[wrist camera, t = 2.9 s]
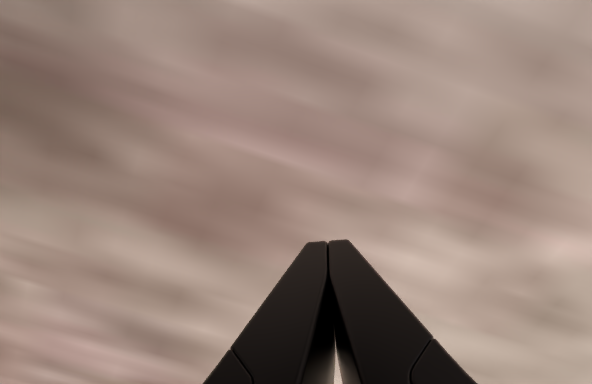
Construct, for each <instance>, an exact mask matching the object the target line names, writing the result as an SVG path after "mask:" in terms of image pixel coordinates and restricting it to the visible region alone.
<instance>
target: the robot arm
mask: <svg viewBox="0 0 592 384" xmlns="http://www.w3.org/2000/svg"><path fill="white" fill-rule="evenodd" d="M335 340H336V350H337V356H338V362H339V367H340V372H341V377H342V382H343V384H477V383H476V382H475V381H474V380H473V379H472V378H471V377H470V376H469V375H468V374H467V373H466V372H465V371H464V370H463V369H462V368H461V367H460V366H459V365H458V363H457V362H456V361H455V360H454V359H453V358H452V357H451V356H450V355H449V354H448V353H447V352H446V350H445V349H444V348H443V347H442V346H441V345H440V343H439V342H438V341H437V340H436V339H433V336H432V335H431V333H430V332H429V331H428V330H427V329H426V328H425V327H424V325H423V324H422V323H421V322H420V321H419V320H418V319H417V317H416V316H415V315H414V314H413V313H412V312H411V311H410V309H409V308H408V307H407V306H406V305H405V304H404V303H403V301H402V300H401V299H400V298H399V297H398V296H397V295H396V294H395V292H394V291H393V290H392V289H391V288H390V287H389V286H388V284H387V283H386V282H385V281H384V280H383V279H382V278H381V276H380V275H379V274H378V273H377V272H376V271H375V270H374V268H373V267H372V266H371V265H370V264H369V263H368V262H367V260H366V259H365V258H364V257H363V256H362V255H361V254H360V252H359V251H358V250H357V249H356V248H355V247H354V246H353V244H352V243H351V242H350V241H349V240H346V239H345V240H332V241H329V243H327V242H325V241H319V242H308V243H307V244H306V245H305V246H304V248H303V249H302V250H301V252H300V253H299V254H298V256H297V257H296V258H295V260H294V261H293V263H292V264H291V265H290V267H289V268H288V269H287V271H286V272H285V274H284V275H283V276H282V278H281V279H280V280H279V282H278V283H277V284H276V286H275V287H274V289H273V290H272V291H271V293H270V294H269V295H268V297H267V298H266V300H265V301H264V302H263V304H262V305H261V306H260V308H259V309H258V310H257V312H256V313H255V315H254V316H253V317H252V319H251V320H250V321H249V323H248V324H247V325H246V327H245V328H244V330H243V331H242V332H241V334H240V335H239V336H238V338H237V339H236V341H235V342H234V343H233V345H232V346H231V348H230V349H231V350H228V351H227V352H226V354H225V355H224V357H223V358H222V359H221V361H220V362H219V363H218V365H217V366H216V367H215V369H214V370H213V371H212V372H211V374H210V375H209V376H208V378H207V379H206V380H205V381H204V383H203V384H334V370H335Z"/></svg>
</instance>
